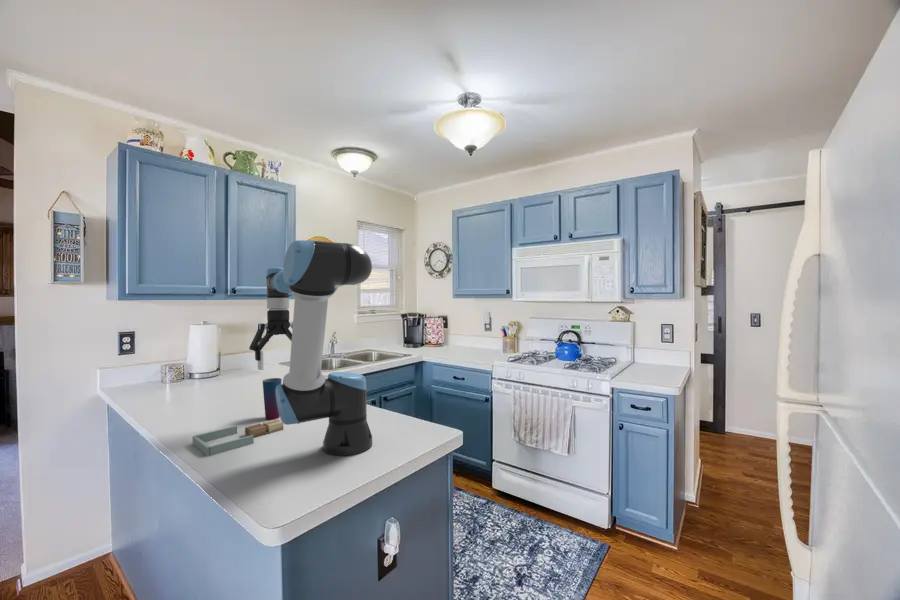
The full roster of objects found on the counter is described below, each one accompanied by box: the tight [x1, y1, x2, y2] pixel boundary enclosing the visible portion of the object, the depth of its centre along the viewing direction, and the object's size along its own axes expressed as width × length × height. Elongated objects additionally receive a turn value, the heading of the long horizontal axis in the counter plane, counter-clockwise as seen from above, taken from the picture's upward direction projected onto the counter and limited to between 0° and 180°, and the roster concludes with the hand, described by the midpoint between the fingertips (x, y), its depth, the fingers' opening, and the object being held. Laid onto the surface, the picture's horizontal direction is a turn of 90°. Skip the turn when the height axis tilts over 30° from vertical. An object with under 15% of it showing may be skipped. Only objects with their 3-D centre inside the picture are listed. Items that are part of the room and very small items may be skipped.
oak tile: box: [262, 418, 284, 435], centre depth 136 cm, size 5×5×3 cm
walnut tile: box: [244, 423, 267, 439], centre depth 132 cm, size 5×5×3 cm
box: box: [191, 425, 255, 457], centre depth 124 cm, size 15×13×2 cm
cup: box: [262, 377, 283, 421], centre depth 150 cm, size 7×7×15 cm
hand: (279, 366), depth 141 cm, fingers open, 13 cm apart
